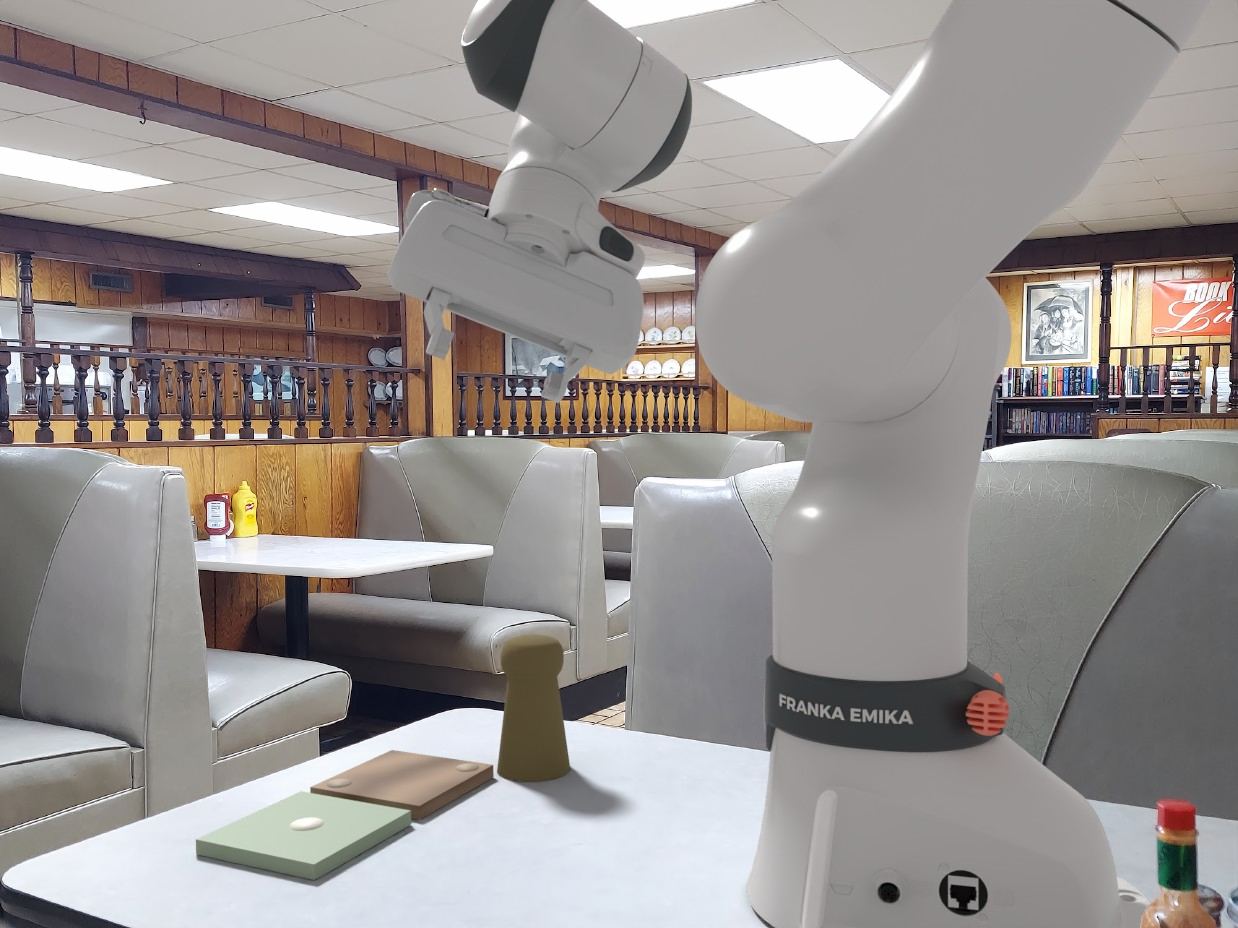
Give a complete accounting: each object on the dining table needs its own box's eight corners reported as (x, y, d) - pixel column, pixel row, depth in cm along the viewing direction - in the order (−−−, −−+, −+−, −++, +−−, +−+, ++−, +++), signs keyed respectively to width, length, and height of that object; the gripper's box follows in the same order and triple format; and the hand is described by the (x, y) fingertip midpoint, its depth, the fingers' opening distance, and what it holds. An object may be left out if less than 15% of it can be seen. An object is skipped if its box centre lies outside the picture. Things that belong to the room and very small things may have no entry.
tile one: (411, 824, 74) (410, 809, 74) (314, 879, 65) (313, 863, 65) (301, 804, 78) (301, 790, 78) (196, 853, 69) (195, 838, 69)
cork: (575, 758, 89) (573, 629, 88) (564, 782, 83) (562, 644, 82) (505, 756, 89) (503, 628, 89) (489, 780, 83) (487, 643, 83)
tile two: (493, 776, 84) (493, 763, 84) (419, 819, 75) (419, 804, 75) (392, 761, 88) (392, 749, 88) (310, 799, 79) (310, 786, 79)
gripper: (424, 157, 80) (370, 306, 74) (663, 260, 85) (629, 406, 80) (408, 201, 85) (356, 343, 80) (633, 295, 91) (600, 435, 85)
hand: (495, 376), depth 80 cm, fingers open, 8 cm apart
